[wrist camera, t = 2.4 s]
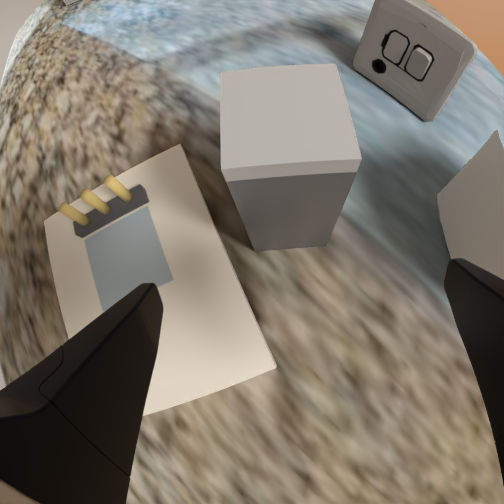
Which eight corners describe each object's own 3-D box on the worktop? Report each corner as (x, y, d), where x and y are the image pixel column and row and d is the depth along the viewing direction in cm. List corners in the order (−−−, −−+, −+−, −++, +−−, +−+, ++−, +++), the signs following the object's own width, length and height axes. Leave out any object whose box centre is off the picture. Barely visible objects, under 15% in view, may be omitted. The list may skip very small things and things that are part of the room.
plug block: (325, 245, 22) (361, 159, 11) (254, 251, 23) (221, 169, 11) (317, 181, 23) (335, 63, 12) (250, 186, 24) (220, 72, 12)
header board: (276, 365, 21) (273, 376, 16) (109, 423, 21) (71, 439, 16) (184, 151, 25) (163, 114, 20) (51, 224, 25) (15, 205, 20)
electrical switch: (349, 68, 26) (368, -10, 17) (377, 52, 27) (397, -17, 18) (428, 128, 24) (472, 54, 15) (449, 106, 25) (488, 40, 16)
